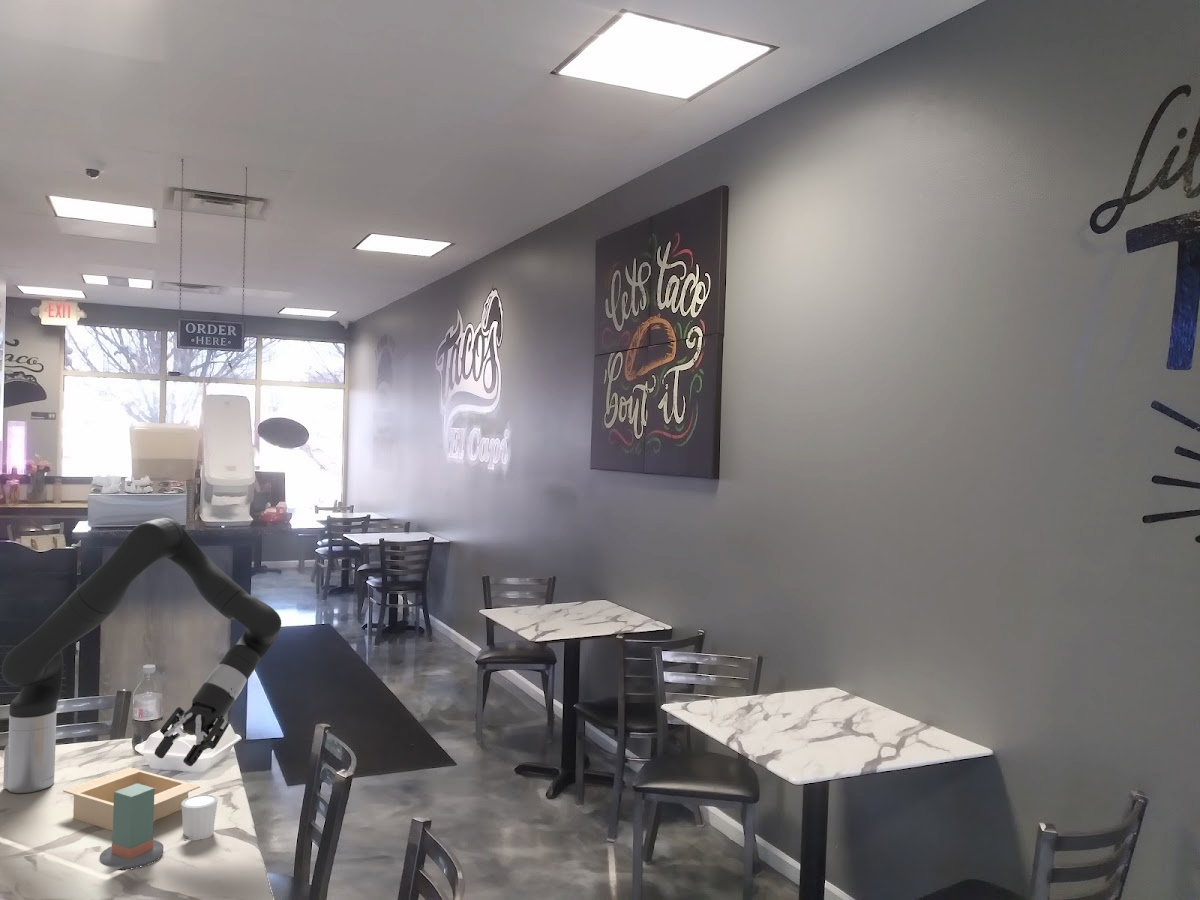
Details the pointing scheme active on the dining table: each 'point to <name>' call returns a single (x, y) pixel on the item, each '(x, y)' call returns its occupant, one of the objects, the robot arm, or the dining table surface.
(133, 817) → the box
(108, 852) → the slate plate
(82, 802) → the carton
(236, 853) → the dining table surface
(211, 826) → the white cup
